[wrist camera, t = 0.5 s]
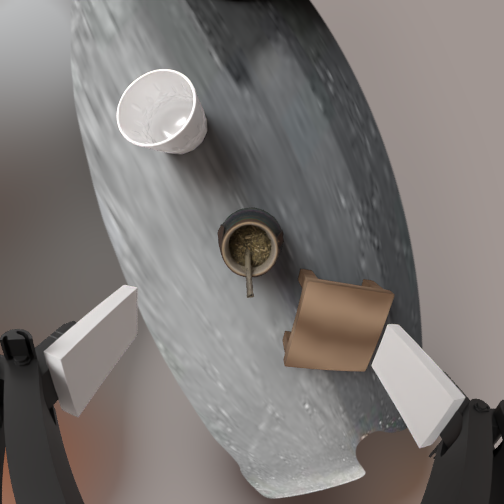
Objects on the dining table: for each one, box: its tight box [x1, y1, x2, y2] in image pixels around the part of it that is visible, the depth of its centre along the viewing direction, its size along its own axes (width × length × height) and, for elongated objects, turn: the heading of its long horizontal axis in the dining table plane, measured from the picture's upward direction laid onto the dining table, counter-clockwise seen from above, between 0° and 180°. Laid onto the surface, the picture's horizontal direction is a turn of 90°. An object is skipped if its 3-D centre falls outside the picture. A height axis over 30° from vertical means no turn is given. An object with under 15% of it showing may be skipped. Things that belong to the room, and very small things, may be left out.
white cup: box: [117, 69, 207, 154], centre depth 26 cm, size 8×8×10 cm
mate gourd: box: [218, 208, 284, 298], centre depth 28 cm, size 7×8×10 cm
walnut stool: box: [283, 269, 395, 371], centre depth 32 cm, size 11×11×6 cm
